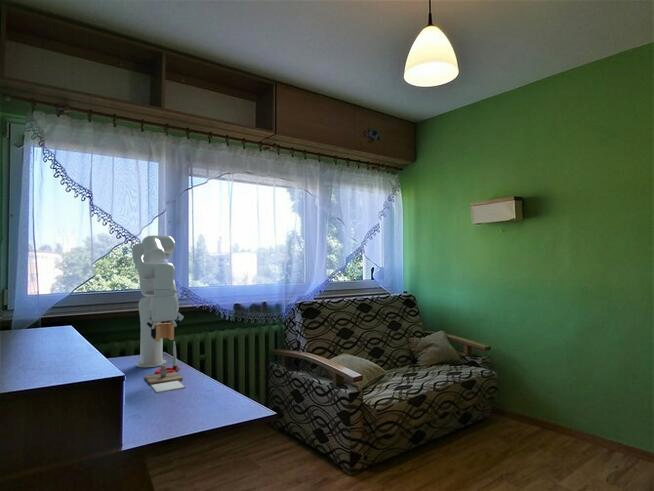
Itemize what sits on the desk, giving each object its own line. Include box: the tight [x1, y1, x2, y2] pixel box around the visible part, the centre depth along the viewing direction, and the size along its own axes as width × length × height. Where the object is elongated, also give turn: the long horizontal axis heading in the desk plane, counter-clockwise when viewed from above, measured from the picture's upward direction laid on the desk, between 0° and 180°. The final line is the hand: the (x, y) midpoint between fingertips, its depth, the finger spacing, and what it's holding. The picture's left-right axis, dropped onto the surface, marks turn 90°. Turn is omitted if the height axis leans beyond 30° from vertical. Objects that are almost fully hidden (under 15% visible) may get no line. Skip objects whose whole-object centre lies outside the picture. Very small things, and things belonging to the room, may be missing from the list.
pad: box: [150, 381, 186, 393], centre depth 158 cm, size 10×10×1 cm
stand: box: [144, 364, 184, 386], centre depth 169 cm, size 12×12×6 cm
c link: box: [154, 322, 175, 342], centre depth 169 cm, size 7×7×6 cm
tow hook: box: [154, 341, 181, 374], centre depth 181 cm, size 8×13×9 cm
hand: (163, 336), depth 169 cm, fingers closed on c link, 6 cm apart
